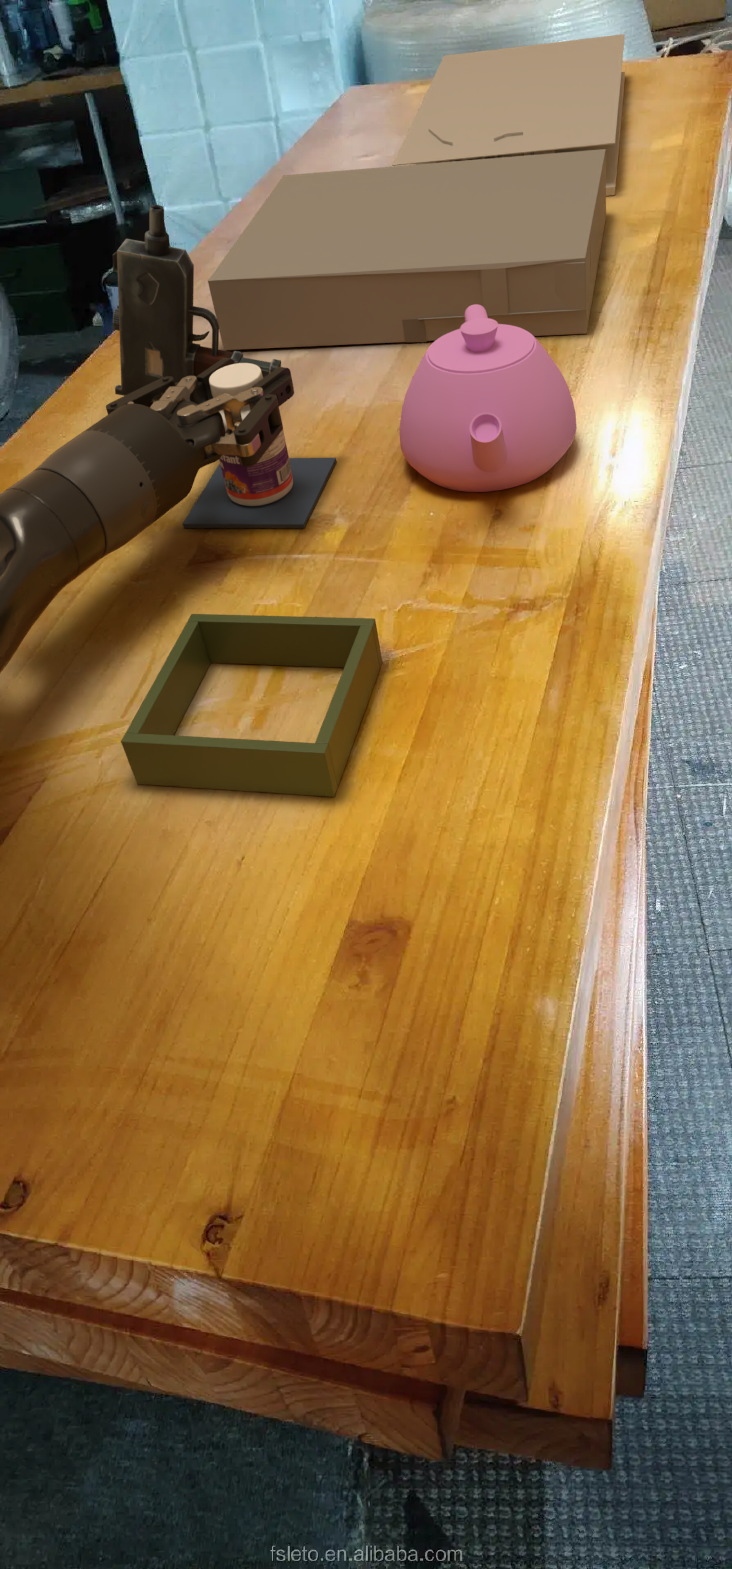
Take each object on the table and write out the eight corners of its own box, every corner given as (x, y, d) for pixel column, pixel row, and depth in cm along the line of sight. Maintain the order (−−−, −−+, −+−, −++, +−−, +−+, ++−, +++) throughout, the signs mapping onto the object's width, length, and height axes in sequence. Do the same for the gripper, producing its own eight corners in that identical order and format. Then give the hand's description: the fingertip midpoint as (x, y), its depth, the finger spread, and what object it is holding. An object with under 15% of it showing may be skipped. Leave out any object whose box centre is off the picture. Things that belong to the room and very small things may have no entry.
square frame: (136, 784, 73) (120, 741, 70) (203, 655, 81) (191, 613, 79) (334, 797, 69) (324, 753, 67) (382, 661, 78) (375, 617, 76)
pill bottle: (217, 488, 97) (188, 373, 90) (277, 466, 98) (253, 351, 92) (243, 515, 93) (215, 398, 86) (305, 492, 94) (282, 374, 88)
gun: (285, 236, 98) (106, 204, 98) (272, 423, 110) (113, 393, 110) (291, 224, 100) (115, 193, 100) (278, 409, 112) (121, 380, 112)
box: (606, 216, 128) (605, 145, 123) (586, 334, 108) (585, 255, 104) (294, 240, 137) (283, 175, 132) (223, 353, 117) (206, 281, 112)
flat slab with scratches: (447, 97, 169) (443, 52, 165) (624, 78, 164) (624, 30, 160) (398, 214, 138) (392, 161, 134) (614, 194, 133) (614, 139, 129)
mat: (183, 528, 94) (182, 523, 94) (223, 462, 101) (222, 458, 100) (304, 528, 91) (303, 524, 91) (336, 461, 98) (336, 457, 98)
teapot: (402, 537, 88) (383, 403, 81) (403, 411, 103) (387, 287, 95) (592, 517, 87) (589, 377, 79) (565, 391, 101) (561, 263, 94)
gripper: (175, 450, 76) (328, 336, 85) (21, 416, 83) (177, 315, 92) (203, 550, 81) (344, 433, 90) (55, 511, 88) (200, 406, 97)
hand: (259, 374), depth 91 cm, fingers closed on pill bottle, 4 cm apart
